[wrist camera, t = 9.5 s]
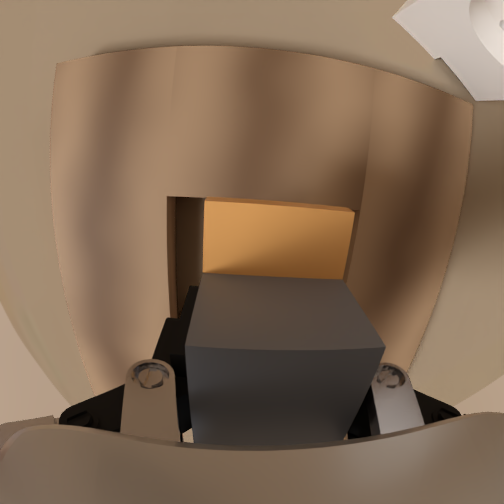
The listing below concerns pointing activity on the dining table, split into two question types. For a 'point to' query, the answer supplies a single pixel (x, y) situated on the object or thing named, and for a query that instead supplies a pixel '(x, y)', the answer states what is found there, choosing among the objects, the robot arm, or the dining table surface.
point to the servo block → (276, 327)
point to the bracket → (462, 39)
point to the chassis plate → (246, 180)
